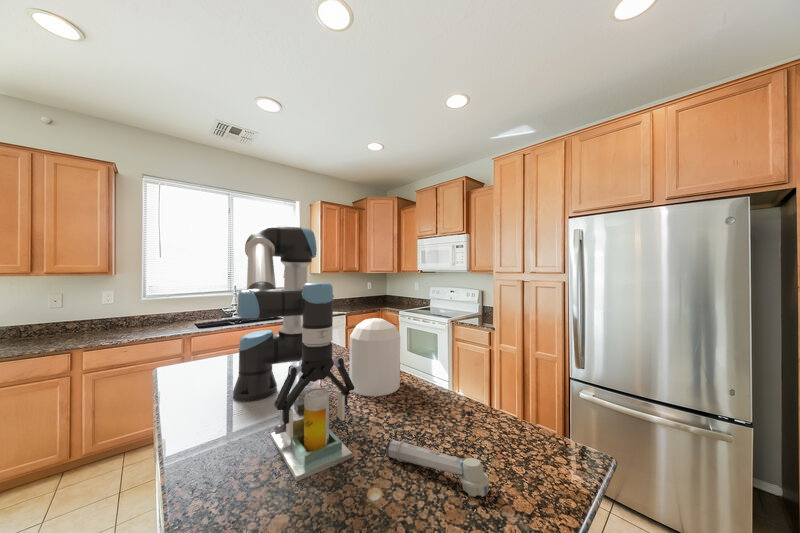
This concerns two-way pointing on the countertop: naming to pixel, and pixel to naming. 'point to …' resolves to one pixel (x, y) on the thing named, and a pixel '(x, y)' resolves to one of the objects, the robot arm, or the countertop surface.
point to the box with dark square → (295, 453)
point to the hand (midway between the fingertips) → (316, 426)
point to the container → (375, 358)
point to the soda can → (316, 419)
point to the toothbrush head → (443, 465)
